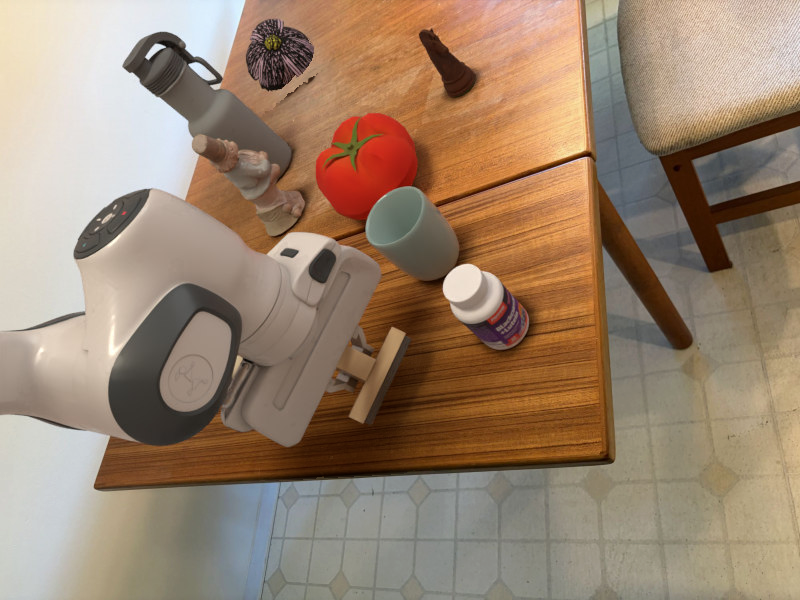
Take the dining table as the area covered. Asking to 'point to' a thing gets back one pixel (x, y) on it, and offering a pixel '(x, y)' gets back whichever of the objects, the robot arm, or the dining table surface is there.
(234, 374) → the crumb
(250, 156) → the figurine
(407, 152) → the tomato
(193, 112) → the water bottle
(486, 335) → the pill bottle
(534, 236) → the dining table surface
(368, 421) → the brush
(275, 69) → the decorative flower
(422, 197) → the cup
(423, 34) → the chess piece
